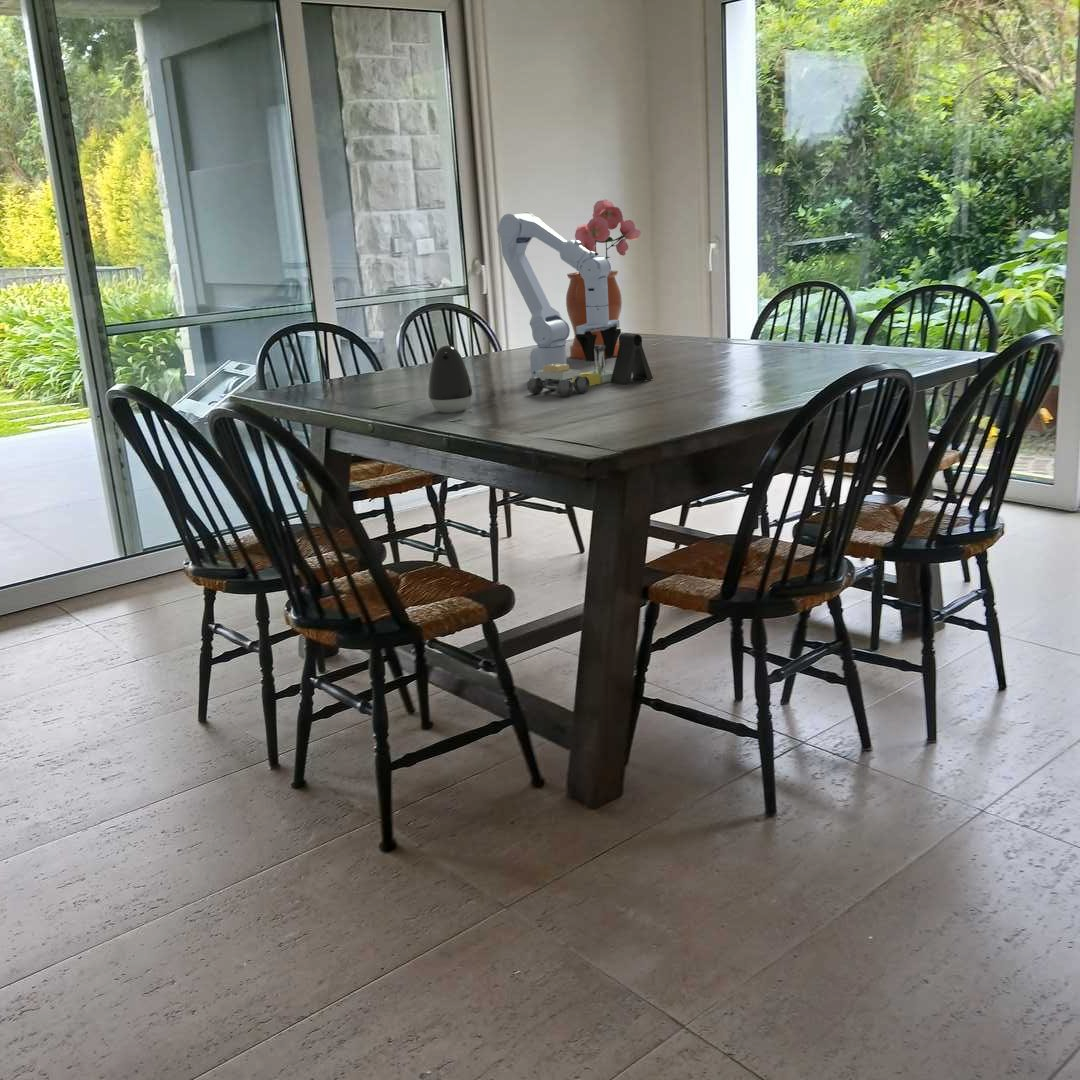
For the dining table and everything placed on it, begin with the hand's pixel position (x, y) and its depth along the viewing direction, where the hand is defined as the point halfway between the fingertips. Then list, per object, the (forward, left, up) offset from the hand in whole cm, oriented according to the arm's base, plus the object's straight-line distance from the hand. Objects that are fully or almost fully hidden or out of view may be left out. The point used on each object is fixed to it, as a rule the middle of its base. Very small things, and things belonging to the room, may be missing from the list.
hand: (599, 359), depth 288 cm
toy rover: (+3, -19, -6) cm, 20 cm away
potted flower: (-33, +38, -6) cm, 51 cm away
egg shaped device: (-4, -48, -6) cm, 49 cm away
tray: (0, 0, -6) cm, 6 cm away
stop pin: (0, 0, -5) cm, 5 cm away
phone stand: (+8, +3, -6) cm, 10 cm away
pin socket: (0, -6, -6) cm, 8 cm away
